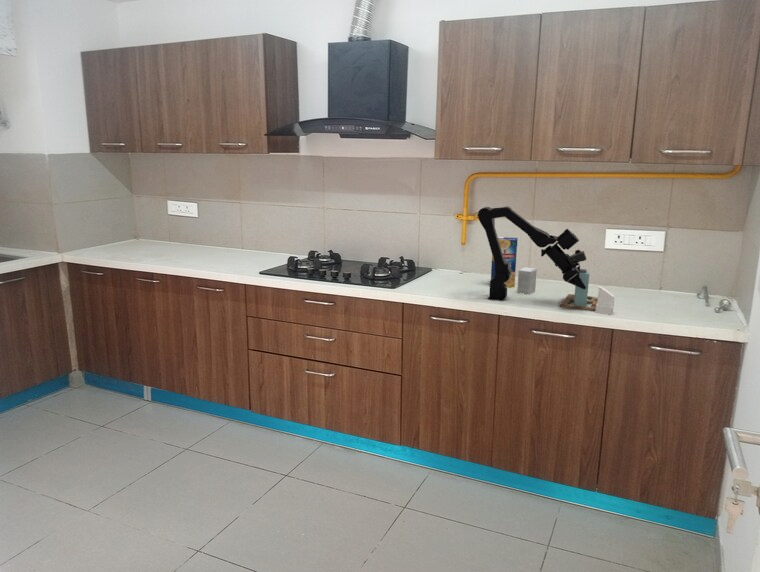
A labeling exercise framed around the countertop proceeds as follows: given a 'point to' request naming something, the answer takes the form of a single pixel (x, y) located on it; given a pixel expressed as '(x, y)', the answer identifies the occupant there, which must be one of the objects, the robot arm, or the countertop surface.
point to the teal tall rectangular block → (580, 293)
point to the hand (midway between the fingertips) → (585, 286)
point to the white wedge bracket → (604, 302)
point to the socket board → (570, 298)
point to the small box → (526, 280)
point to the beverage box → (507, 257)
